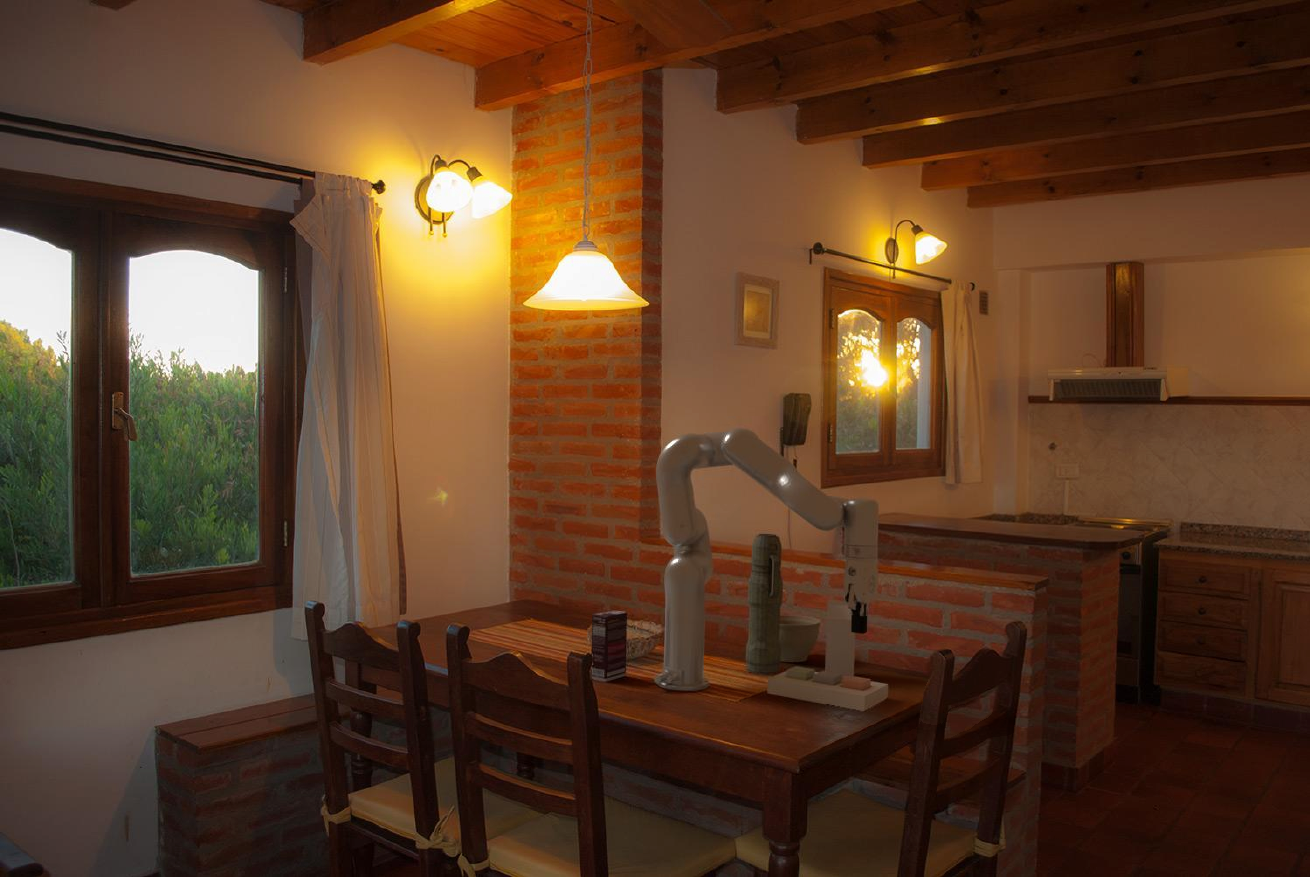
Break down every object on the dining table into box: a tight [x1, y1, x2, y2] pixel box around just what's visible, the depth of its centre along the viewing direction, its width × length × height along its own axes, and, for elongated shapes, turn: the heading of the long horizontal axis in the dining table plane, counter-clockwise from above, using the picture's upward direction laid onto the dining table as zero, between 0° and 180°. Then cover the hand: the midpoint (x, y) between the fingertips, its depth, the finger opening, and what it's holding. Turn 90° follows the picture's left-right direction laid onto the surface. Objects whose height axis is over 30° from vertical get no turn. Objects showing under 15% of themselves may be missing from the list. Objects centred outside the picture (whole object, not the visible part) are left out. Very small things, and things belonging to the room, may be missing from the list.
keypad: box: [766, 671, 889, 712], centre depth 234 cm, size 14×24×4 cm, turn 56°
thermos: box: [745, 533, 784, 676], centre depth 258 cm, size 9×12×35 cm
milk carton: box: [824, 599, 856, 677], centre depth 256 cm, size 7×7×19 cm
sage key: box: [785, 665, 816, 681], centre depth 238 cm, size 5×5×2 cm
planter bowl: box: [779, 614, 821, 663], centre depth 273 cm, size 16×16×11 cm
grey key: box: [813, 670, 842, 686], centre depth 234 cm, size 5×5×2 cm
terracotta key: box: [841, 675, 872, 691], centre depth 230 cm, size 5×5×2 cm
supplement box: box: [590, 610, 628, 683], centre depth 245 cm, size 9×5×16 cm, turn 145°
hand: (859, 632), depth 230 cm, fingers closed
